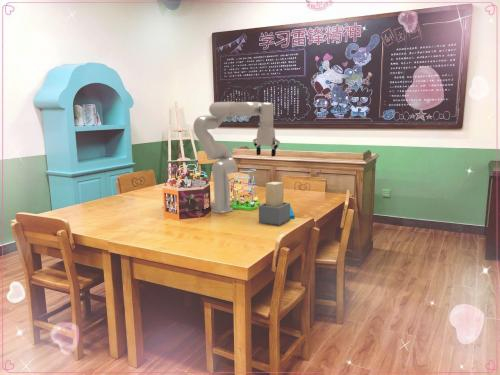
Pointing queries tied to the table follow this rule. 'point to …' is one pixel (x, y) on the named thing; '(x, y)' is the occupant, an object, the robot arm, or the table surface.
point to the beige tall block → (274, 194)
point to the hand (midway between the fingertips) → (265, 155)
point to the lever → (291, 213)
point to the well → (274, 214)
